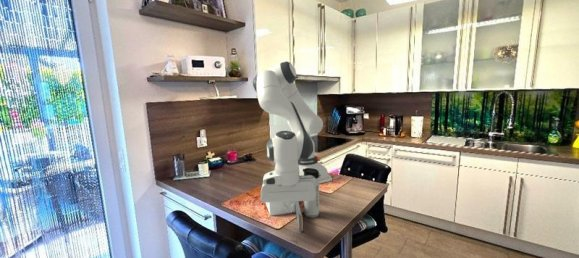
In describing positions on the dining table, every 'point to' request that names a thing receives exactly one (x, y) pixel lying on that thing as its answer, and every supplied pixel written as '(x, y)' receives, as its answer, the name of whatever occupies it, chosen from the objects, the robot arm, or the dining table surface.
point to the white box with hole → (278, 208)
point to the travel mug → (313, 206)
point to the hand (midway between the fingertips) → (289, 211)
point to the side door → (299, 216)
